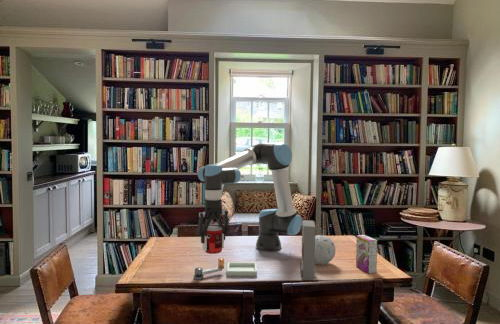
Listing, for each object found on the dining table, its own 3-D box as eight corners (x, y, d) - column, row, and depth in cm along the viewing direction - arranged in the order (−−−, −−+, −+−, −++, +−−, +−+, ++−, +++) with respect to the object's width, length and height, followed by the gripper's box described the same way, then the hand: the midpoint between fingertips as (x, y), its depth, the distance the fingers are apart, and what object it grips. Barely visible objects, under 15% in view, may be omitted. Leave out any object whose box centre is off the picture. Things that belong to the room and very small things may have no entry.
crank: (196, 277, 169) (196, 265, 169) (193, 274, 172) (193, 263, 172) (225, 270, 178) (225, 259, 177) (221, 268, 181) (221, 257, 180)
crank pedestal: (203, 276, 174) (203, 274, 174) (202, 280, 169) (202, 277, 169) (194, 276, 174) (194, 274, 174) (193, 280, 169) (193, 277, 169)
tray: (255, 267, 188) (255, 262, 187) (256, 276, 175) (256, 271, 174) (228, 267, 187) (228, 262, 187) (227, 276, 174) (227, 271, 174)
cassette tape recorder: (299, 270, 185) (300, 220, 184) (312, 270, 184) (313, 220, 183) (301, 280, 171) (302, 226, 170) (314, 280, 170) (315, 226, 169)
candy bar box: (355, 266, 191) (356, 235, 190) (363, 265, 192) (364, 234, 192) (368, 274, 180) (369, 240, 179) (376, 273, 182) (377, 239, 181)
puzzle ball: (329, 270, 184) (329, 240, 184) (301, 265, 192) (301, 236, 192) (339, 262, 197) (339, 234, 197) (312, 257, 205) (312, 230, 204)
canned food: (204, 249, 172) (204, 225, 172) (222, 248, 173) (222, 225, 172) (204, 254, 165) (204, 229, 164) (222, 253, 165) (222, 229, 165)
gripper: (229, 196, 176) (229, 243, 177) (188, 199, 165) (188, 250, 167) (237, 198, 170) (237, 247, 171) (195, 201, 159) (195, 254, 160)
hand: (213, 248), depth 169 cm, fingers closed on canned food, 8 cm apart
